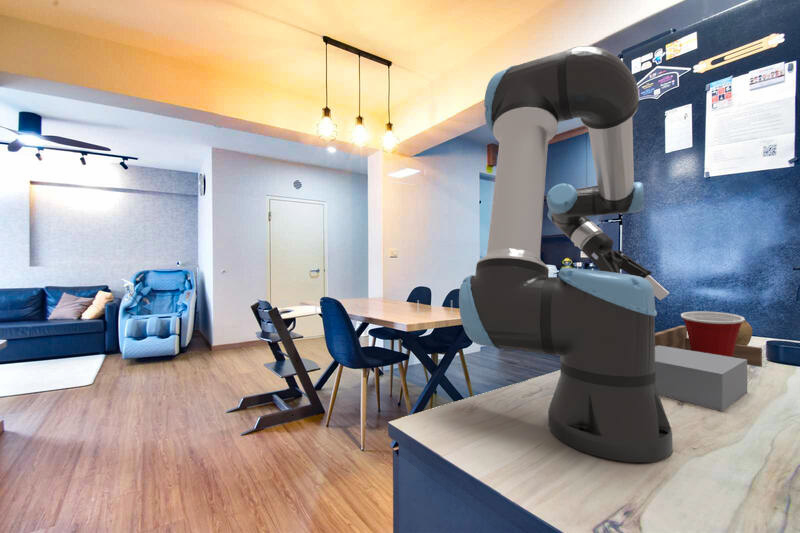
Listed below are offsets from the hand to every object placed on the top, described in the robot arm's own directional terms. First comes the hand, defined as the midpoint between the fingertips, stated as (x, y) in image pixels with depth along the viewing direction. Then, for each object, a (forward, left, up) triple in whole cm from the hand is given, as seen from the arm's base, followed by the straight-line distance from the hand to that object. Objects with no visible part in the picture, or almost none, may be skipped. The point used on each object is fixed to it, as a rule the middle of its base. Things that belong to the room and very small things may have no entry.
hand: (653, 299), depth 89 cm
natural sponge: (+20, +4, -15) cm, 25 cm away
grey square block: (-7, -23, -15) cm, 28 cm away
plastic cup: (+7, -9, -15) cm, 19 cm away
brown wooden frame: (+6, -8, -15) cm, 17 cm away
